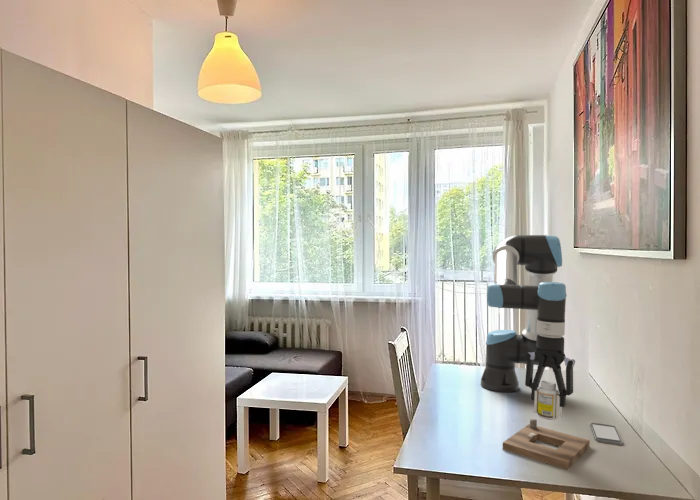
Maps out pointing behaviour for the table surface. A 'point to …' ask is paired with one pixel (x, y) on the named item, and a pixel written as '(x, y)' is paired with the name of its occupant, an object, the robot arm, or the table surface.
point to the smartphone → (606, 434)
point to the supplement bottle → (547, 400)
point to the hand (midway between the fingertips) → (547, 414)
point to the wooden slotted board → (558, 457)
